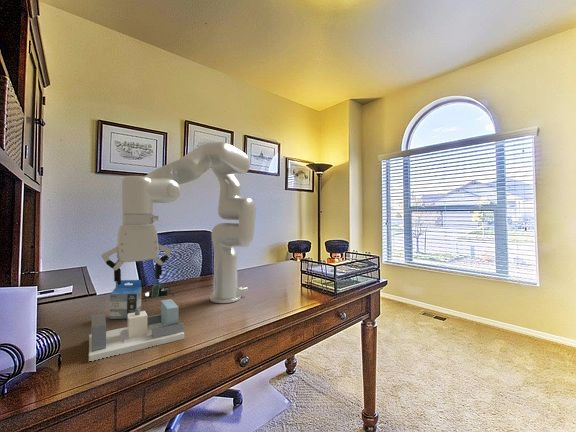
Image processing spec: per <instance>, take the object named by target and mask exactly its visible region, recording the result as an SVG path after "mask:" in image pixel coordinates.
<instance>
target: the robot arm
mask: <svg viewBox="0 0 576 432" xmlns="http://www.w3.org/2000/svg"><path fill="white" fill-rule="evenodd" d="M250 167H251V161H250V158H249V156H248V155H247V154H246V153H245V152H243V150H241V149H239V148H237V147H236V146H234V145H232V144H230V143H228V142H224V141H216V142H207V143H203V144H200V145H199V146H197V147H196V148H194V149H193V150H191V151H190V152H188V153H187V154H185V155H184V156H182V157H180V158H179V159H177V160H174V161H172V162H169V163H167V164H165V165H163V166H161V167H158V168H155V169H154V170H152V171H151V172H149V173H147V174H146V175H144V176H143V175H126V176H124V177H123V178H122V179H121V197H122V199H121V200H122V201H121V203H122V204H121V205H122V211H121V212H122V213H121V214H122V217H121V218H122V225H119V226H118V231H117V240H116V241H117V242H116V246H115V247H113V248H111V249H109V250H106V251H105V252H103V253H102V254H100V255H101V258H102V260H103V261H104V263H105V264H106V265H107V266H108V267H109V268H111V269H113V277H114V278H113V282H115V283H116V281H117V284H118V285H120V284H121V280H122V272H121V271H122V270H121V269H120V268H121V267H122V265H123V264H124V263H133V262H134V263H135V262H144V261H152V260H153V261H154V262H155V265H154V277H155V279H156V280H160V277H161V276H162V275H163V271H162V269H163V268H162V266H163V264H164V263H165V262H166V261H167V260H168V259H169V256H170V254H171V252H172V249H171V248H170V247H167V246H166V245H165V246H164V245H162V244H159V237H158V232H157V227H156V224H154V222H156V221H157V222H158V221H159V215H154V205H153V204H170V203H172V202H176V201H177V200H178V199H179V198H180V196H181V186H180V185H182V184H186V183H187V184H188V183H190V182H194V181H196V180H198V178H200V177H201V176H202V175H203V174H205V173H206V172H207V171H208V170H210V169H211V171H212V172H213V174H214V175H215V176H216V178H217V180H218V184H219V197H218V198H219V199H218V208H217V213H218V216H219V218H221V219H222V220H227V221H238V223H237V222H235V223H234V222H219V223H217V224H216V225H214V226H213V228H212V230H211V241H212V246H213V294H211V295H210V296H209V301H210V302H212V303H215V304H230V303H234V302H235V303H236V302H237V301H239V300H241V299H242V297H241V296H242V295H241V293H246V292H248V290H249V288H248V286H245V287H243V286H238V253H237V251H236V249H235V247H237V248H246V247H249V246H250V245H252V243H253V240H254V235H255V234H254V233H255V224H256V223H255V222H256V203H255V202H254V201H253V199H252V198H250V197H247V196H241V190H242V189H241V183H240V182H239V180H238V178H237V176H236V175H243V174H245V173H247V172H249V170H250ZM160 250H161V251H163V252H164V253H163V254H162V256H161V257H160V258H159V255H160ZM114 254H116V258H117V260H116V261H115V262H113V261H112V260H111V258H110V256H112V255H114Z"/></svg>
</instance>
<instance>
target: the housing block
mask: <svg viewBox="0 0 576 432" xmlns="http://www.w3.org/2000/svg"><path fill="white" fill-rule="evenodd" d="M147 316H148V313H147V312H146V310H141V311H140V309H135V313H129V314H127V319H126V321H127V323H126V325H127V326H126V327H127V332H128V336H129V337H132V336H137V335H142V334H146V333H147Z"/></svg>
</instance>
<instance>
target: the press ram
mask: <svg viewBox="0 0 576 432" xmlns="http://www.w3.org/2000/svg"><path fill="white" fill-rule="evenodd" d="M179 309H180V308H179V305H177V304H176V303H175V301H174V300H173V299H172V298H169V299H163V300H162V299H161V300H160V314H161V323H162V325H163V326H166V325H171V324H176V323H180V322H179V320H180V319H179V313H180V312H179V311H180V310H179Z"/></svg>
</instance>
